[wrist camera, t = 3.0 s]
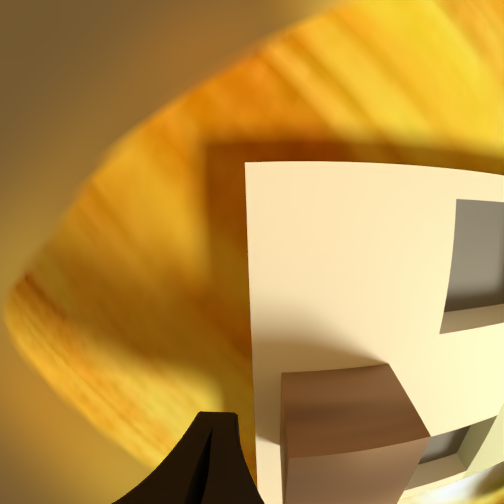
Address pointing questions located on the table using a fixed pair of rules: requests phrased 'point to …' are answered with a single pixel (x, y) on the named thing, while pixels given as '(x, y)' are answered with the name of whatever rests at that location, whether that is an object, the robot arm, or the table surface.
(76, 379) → the table surface
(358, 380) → the walnut block
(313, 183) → the board
